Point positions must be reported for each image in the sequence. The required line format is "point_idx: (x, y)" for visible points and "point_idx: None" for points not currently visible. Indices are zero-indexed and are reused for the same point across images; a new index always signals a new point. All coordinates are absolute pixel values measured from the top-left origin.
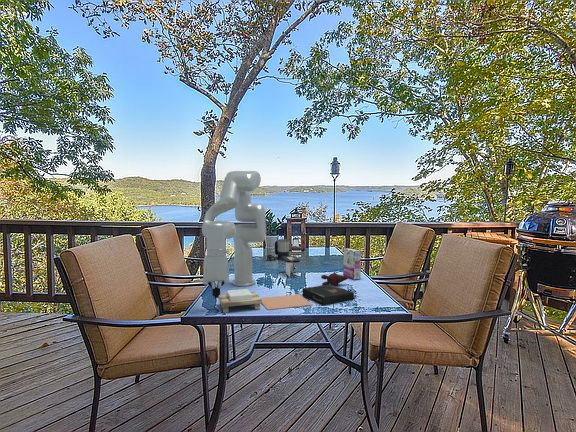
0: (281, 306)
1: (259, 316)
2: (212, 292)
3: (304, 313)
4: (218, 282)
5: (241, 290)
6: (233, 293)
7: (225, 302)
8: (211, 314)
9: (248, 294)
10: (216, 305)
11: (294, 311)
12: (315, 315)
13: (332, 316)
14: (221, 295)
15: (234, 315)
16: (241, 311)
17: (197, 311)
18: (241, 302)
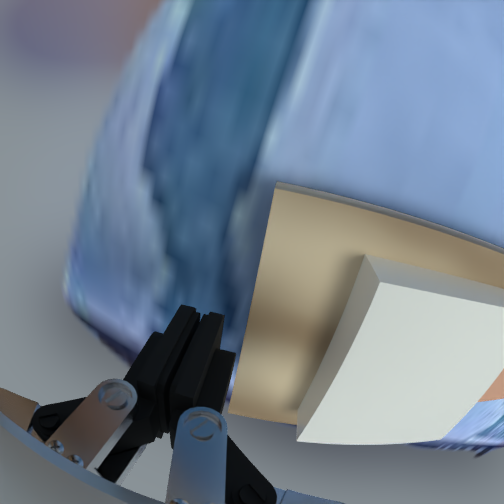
0: (498, 389)
1: None
2: (144, 355)
3: (478, 435)
4: (182, 474)
5: (482, 343)
6: (368, 399)
7: (254, 411)
8: None
9: (428, 436)
10: (251, 198)
11: (480, 422)
12: (476, 446)
13: (486, 451)
14: (301, 229)
15: None
16: None
17: (106, 260)
18: None
